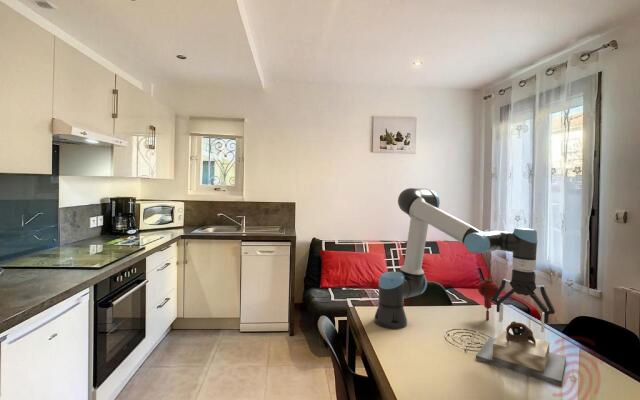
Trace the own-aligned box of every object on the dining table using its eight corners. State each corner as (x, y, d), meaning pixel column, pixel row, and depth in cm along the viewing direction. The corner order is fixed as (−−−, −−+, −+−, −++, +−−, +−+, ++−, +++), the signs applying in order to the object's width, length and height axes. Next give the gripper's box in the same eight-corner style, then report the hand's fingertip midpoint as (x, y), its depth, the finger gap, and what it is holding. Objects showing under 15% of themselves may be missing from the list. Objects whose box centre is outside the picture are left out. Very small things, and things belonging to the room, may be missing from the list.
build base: (475, 359, 126) (476, 342, 125) (490, 340, 143) (490, 325, 142) (561, 385, 109) (561, 365, 109) (565, 360, 126) (566, 343, 126)
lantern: (490, 324, 161) (492, 261, 160) (472, 317, 169) (474, 258, 168) (502, 321, 165) (504, 260, 165) (484, 314, 174) (486, 257, 173)
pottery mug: (543, 350, 121) (536, 332, 119) (517, 359, 123) (509, 341, 121) (525, 328, 133) (518, 312, 131) (502, 337, 134) (495, 320, 132)
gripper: (484, 265, 130) (482, 319, 131) (564, 277, 114) (560, 339, 115) (489, 262, 136) (487, 314, 137) (565, 274, 120) (562, 332, 121)
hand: (520, 325), depth 126 cm, fingers open, 13 cm apart
